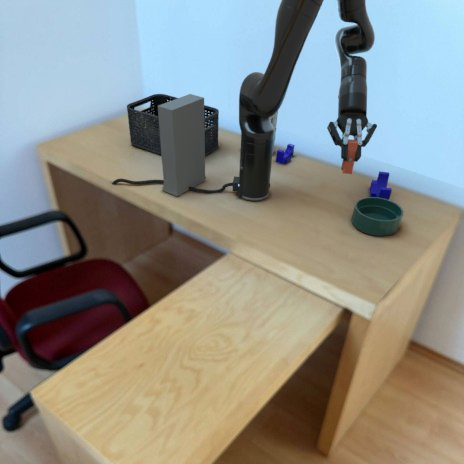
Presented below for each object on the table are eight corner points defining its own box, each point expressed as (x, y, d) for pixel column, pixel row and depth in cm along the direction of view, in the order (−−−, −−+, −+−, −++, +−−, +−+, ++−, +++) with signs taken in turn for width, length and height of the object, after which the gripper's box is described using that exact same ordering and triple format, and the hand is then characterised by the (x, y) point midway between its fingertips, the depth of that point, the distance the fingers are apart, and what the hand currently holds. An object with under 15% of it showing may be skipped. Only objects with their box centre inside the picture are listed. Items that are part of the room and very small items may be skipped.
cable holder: (284, 164, 151) (285, 153, 148) (275, 161, 152) (276, 150, 149) (296, 157, 155) (298, 146, 153) (288, 154, 157) (289, 143, 154)
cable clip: (369, 188, 140) (374, 170, 136) (383, 190, 139) (389, 172, 135) (370, 207, 131) (375, 188, 127) (386, 209, 130) (391, 190, 126)
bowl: (355, 236, 119) (360, 220, 116) (347, 211, 129) (351, 196, 125) (403, 237, 119) (409, 222, 116) (391, 213, 129) (396, 197, 125)
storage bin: (222, 146, 160) (222, 108, 151) (190, 165, 148) (189, 125, 139) (160, 129, 171) (158, 92, 162) (126, 145, 158) (121, 106, 149)
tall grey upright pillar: (190, 175, 143) (188, 93, 126) (205, 180, 140) (204, 97, 123) (162, 191, 134) (154, 105, 117) (177, 197, 132) (172, 110, 115)
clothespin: (343, 173, 122) (349, 143, 116) (341, 168, 125) (347, 138, 119) (351, 174, 122) (358, 143, 116) (349, 168, 125) (356, 138, 119)
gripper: (330, 89, 116) (328, 153, 115) (382, 91, 116) (381, 156, 115) (324, 103, 123) (322, 164, 123) (373, 106, 124) (371, 166, 123)
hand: (351, 160), depth 119 cm, fingers closed on clothespin, 2 cm apart
